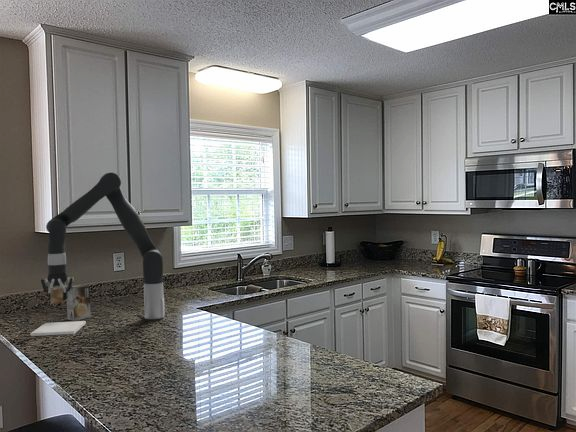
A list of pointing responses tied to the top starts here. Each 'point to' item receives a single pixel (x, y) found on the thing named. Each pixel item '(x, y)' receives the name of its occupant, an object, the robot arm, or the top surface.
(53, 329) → the cutting board
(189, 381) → the top surface
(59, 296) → the brown short block
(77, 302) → the coffee box
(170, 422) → the top surface
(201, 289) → the top surface
